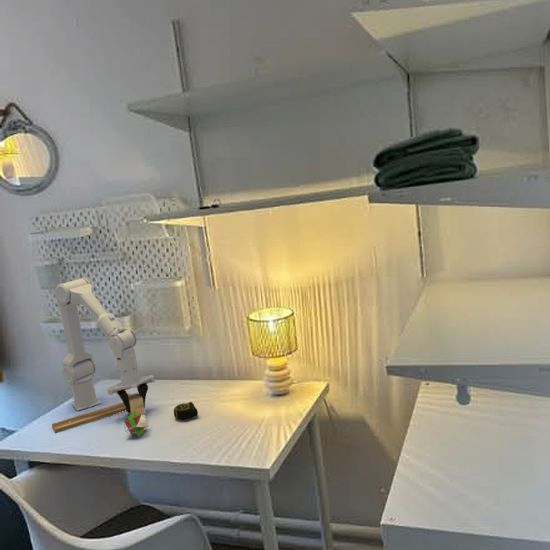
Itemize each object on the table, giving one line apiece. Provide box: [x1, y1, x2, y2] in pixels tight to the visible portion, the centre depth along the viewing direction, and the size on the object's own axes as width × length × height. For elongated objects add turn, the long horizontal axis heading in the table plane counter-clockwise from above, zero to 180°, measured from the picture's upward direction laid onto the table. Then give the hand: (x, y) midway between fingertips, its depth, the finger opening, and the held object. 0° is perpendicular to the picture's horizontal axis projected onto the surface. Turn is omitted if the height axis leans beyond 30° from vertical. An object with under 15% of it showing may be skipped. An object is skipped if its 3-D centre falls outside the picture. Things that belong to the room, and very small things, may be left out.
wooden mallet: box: [126, 391, 147, 416], centre depth 193 cm, size 13×4×6 cm, turn 29°
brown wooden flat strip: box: [51, 401, 126, 434], centre depth 194 cm, size 6×28×1 cm, turn 119°
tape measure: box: [173, 401, 199, 421], centre depth 183 cm, size 7×7×4 cm
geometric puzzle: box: [123, 411, 149, 438], centre depth 175 cm, size 7×7×8 cm
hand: (135, 409), depth 190 cm, fingers closed on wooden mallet, 4 cm apart
